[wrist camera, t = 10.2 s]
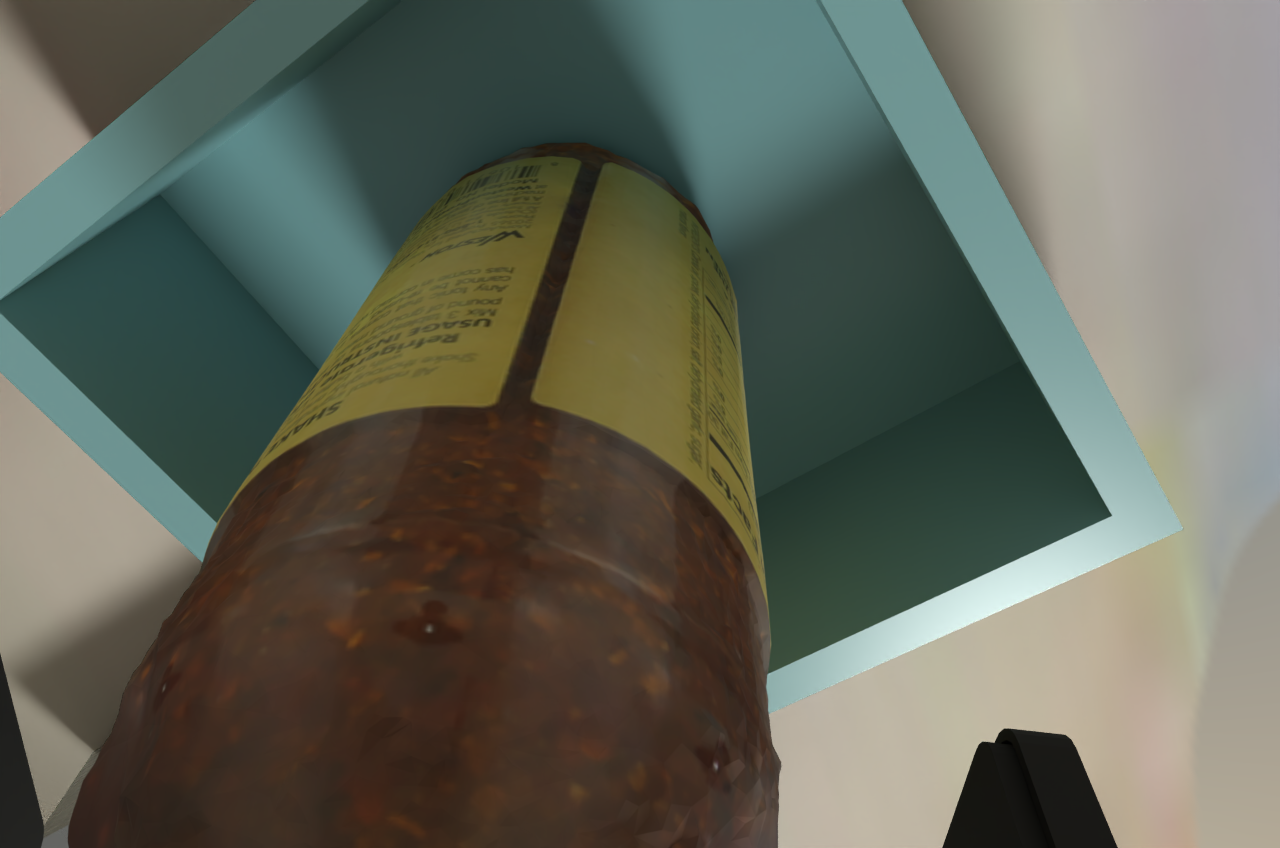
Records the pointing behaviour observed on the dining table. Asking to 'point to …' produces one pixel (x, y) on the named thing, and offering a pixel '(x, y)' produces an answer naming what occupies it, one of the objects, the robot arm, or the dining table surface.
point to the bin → (741, 231)
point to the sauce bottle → (482, 559)
